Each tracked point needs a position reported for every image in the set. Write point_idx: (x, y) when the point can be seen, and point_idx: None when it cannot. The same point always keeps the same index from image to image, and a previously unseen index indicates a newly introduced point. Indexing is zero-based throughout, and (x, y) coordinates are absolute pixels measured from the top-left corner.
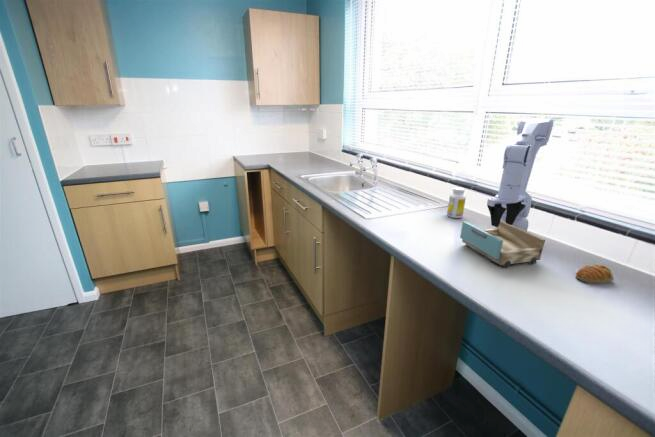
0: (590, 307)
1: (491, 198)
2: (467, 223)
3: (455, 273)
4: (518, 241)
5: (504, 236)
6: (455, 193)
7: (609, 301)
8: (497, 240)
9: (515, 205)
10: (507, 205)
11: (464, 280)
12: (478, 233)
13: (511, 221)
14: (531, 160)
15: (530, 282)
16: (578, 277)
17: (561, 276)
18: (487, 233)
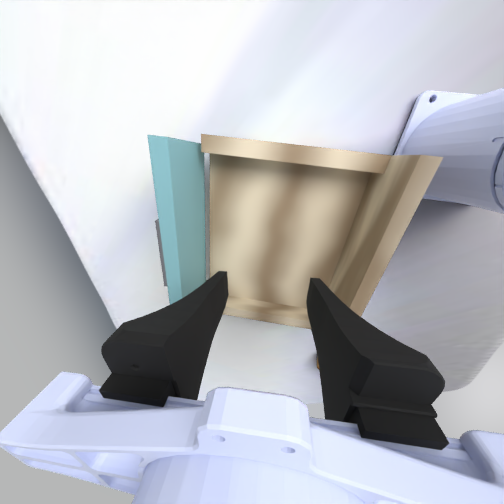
0: (250, 379)
1: (38, 449)
2: (157, 172)
3: (116, 264)
4: (341, 268)
5: (360, 209)
6: None
7: (289, 384)
8: None
9: (337, 415)
10: (346, 349)
11: (122, 286)
12: (163, 257)
13: (309, 312)
14: None
15: (230, 329)
16: (317, 357)
17: (304, 339)
18: (173, 288)
